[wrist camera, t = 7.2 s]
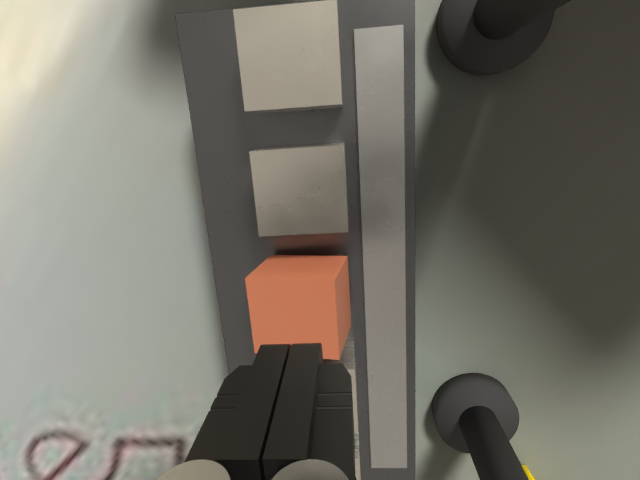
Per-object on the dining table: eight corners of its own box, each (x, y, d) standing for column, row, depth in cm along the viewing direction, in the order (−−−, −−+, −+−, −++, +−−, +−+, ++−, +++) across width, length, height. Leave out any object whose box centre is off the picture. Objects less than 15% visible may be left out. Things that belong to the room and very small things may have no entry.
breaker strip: (395, 28, 17) (427, -35, 11) (400, 407, 23) (423, 524, 16) (220, 44, 18) (145, -6, 11) (266, 408, 23) (234, 521, 17)
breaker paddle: (347, 255, 14) (334, 280, 12) (351, 324, 15) (339, 359, 13) (270, 255, 15) (244, 278, 13) (278, 320, 16) (254, 353, 13)
